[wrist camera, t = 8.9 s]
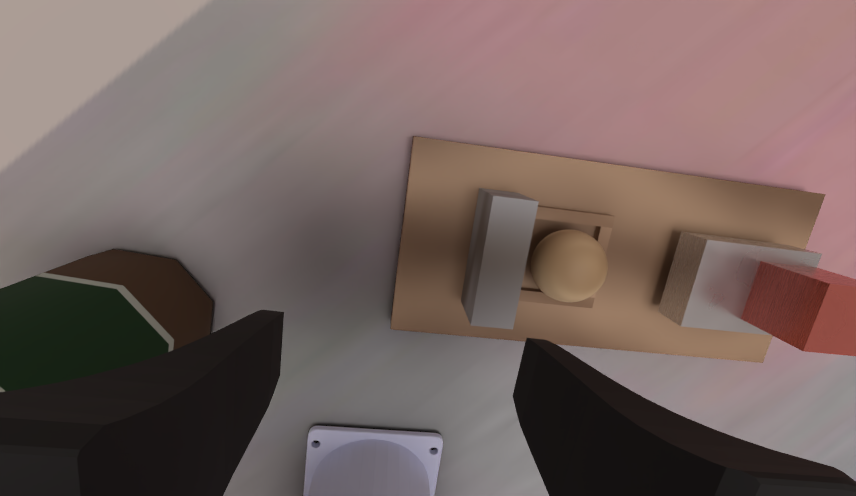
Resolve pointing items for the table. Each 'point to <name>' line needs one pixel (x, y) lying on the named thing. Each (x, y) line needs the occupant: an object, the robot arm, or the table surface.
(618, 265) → the wooden puzzle board
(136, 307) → the beer bottle
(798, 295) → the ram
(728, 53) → the table surface
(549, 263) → the walnut
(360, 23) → the table surface
